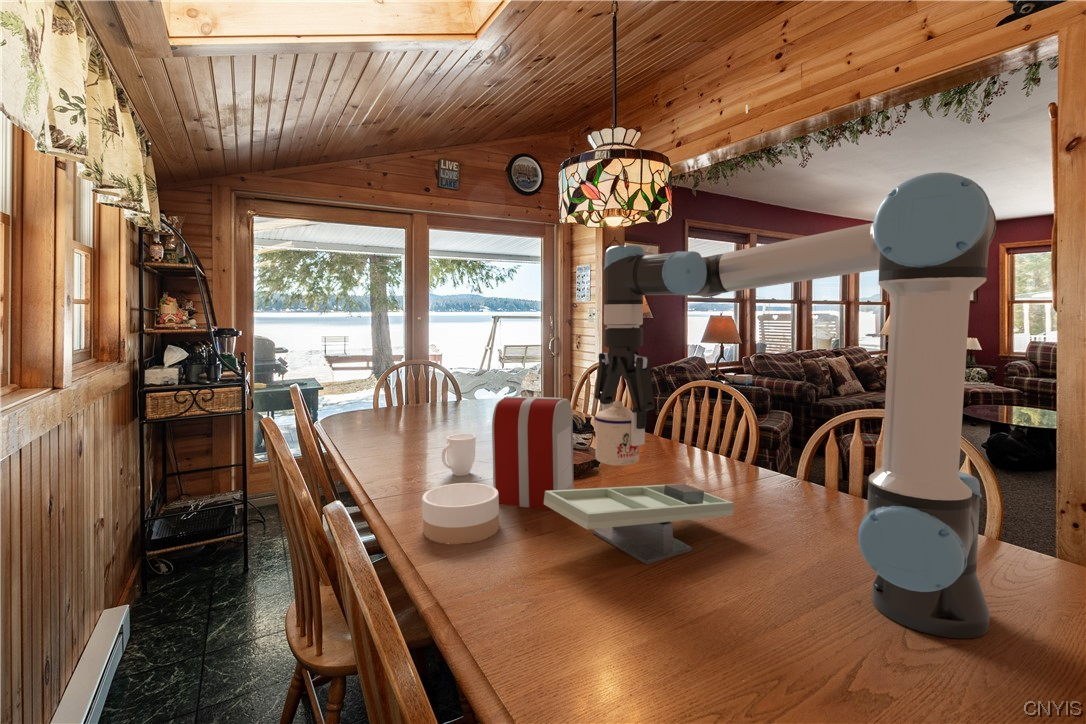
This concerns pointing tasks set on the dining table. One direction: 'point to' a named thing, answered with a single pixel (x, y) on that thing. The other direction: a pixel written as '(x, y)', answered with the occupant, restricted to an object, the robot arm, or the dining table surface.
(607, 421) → the teacup with lid
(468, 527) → the bowl
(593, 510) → the divided tray
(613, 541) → the fulcrum
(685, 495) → the block
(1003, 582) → the dining table surface
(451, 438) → the mug
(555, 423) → the red striped block
